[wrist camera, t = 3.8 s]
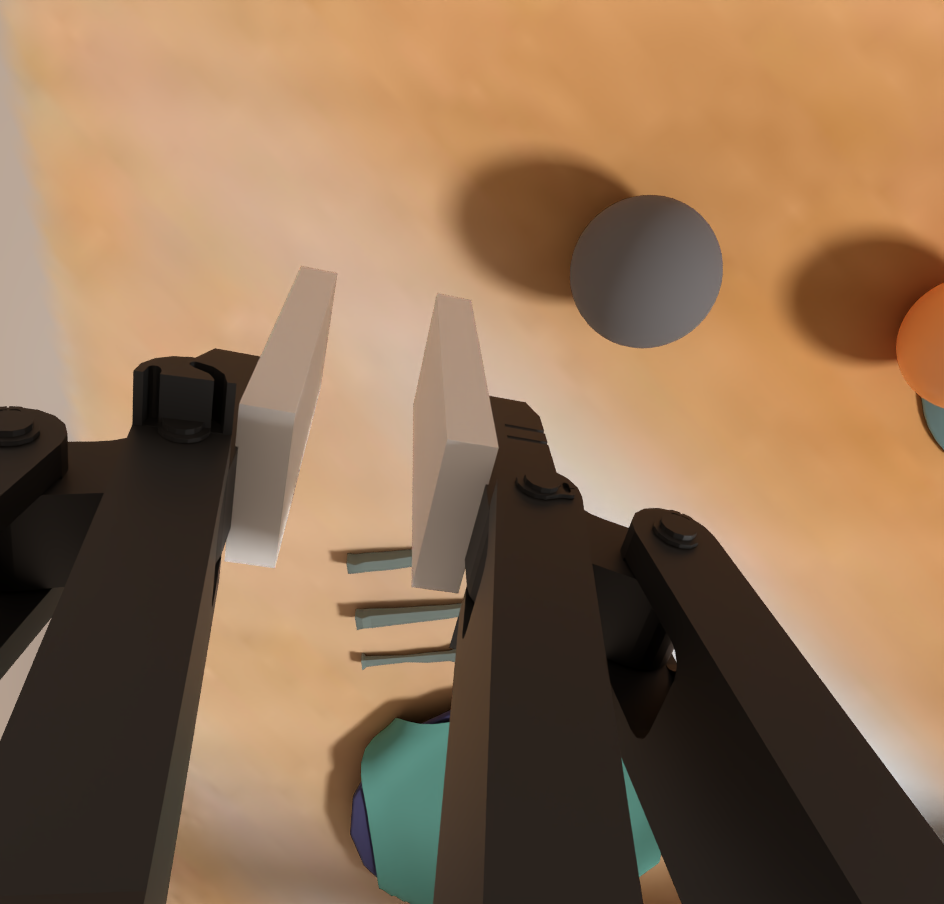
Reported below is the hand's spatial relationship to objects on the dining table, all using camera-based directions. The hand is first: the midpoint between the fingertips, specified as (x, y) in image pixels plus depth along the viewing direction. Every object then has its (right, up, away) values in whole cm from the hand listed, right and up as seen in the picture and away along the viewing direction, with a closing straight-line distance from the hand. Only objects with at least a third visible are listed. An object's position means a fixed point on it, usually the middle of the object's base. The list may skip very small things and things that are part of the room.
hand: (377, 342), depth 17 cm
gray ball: (+8, +4, +12) cm, 15 cm away
